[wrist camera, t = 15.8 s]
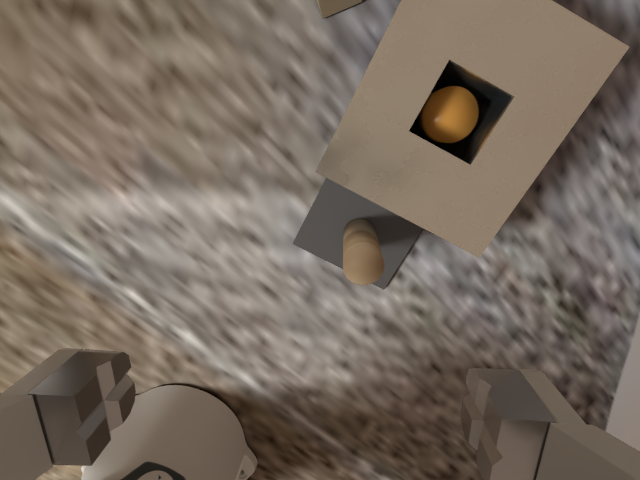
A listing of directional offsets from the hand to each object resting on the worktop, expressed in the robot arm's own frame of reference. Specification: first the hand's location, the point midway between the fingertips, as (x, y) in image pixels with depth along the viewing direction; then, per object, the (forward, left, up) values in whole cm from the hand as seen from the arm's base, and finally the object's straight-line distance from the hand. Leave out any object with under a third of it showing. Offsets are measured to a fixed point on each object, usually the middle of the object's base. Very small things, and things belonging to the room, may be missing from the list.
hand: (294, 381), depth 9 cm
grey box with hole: (+10, -5, -26) cm, 28 cm away
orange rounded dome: (+10, -5, -24) cm, 26 cm away
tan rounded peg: (-2, -4, -25) cm, 26 cm away
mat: (-2, -4, -26) cm, 26 cm away
